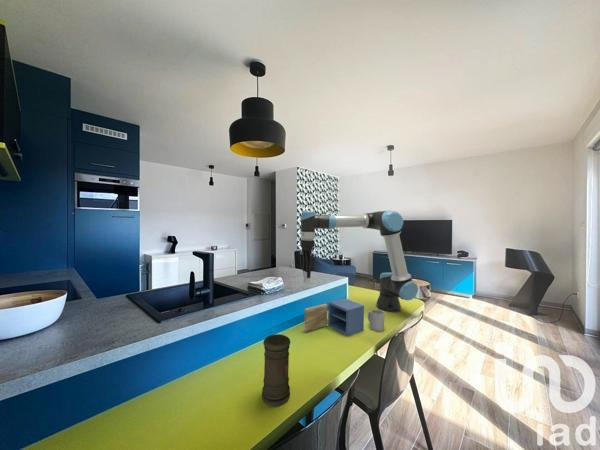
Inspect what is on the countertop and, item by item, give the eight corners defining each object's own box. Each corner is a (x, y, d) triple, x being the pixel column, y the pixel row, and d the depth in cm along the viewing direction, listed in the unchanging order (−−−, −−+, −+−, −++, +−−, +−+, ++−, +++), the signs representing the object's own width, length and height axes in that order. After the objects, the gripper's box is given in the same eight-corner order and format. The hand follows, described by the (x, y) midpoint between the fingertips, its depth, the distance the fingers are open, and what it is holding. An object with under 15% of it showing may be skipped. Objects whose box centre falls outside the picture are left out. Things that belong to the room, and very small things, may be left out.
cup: (376, 332, 123) (377, 315, 123) (363, 325, 132) (363, 308, 131) (387, 330, 126) (387, 313, 126) (373, 322, 135) (373, 306, 135)
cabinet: (343, 321, 136) (344, 298, 136) (363, 330, 125) (364, 305, 125) (328, 326, 129) (328, 301, 129) (347, 336, 118) (348, 310, 118)
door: (327, 324, 129) (328, 304, 128) (305, 331, 120) (306, 309, 120) (326, 323, 130) (326, 303, 129) (304, 330, 121) (304, 308, 121)
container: (266, 410, 71) (267, 349, 71) (258, 390, 79) (259, 336, 79) (294, 401, 75) (295, 344, 74) (284, 383, 83) (285, 331, 83)
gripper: (294, 238, 133) (293, 281, 133) (310, 240, 122) (309, 287, 122) (305, 238, 137) (304, 279, 138) (321, 240, 126) (320, 285, 127)
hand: (306, 283), depth 130 cm, fingers closed
